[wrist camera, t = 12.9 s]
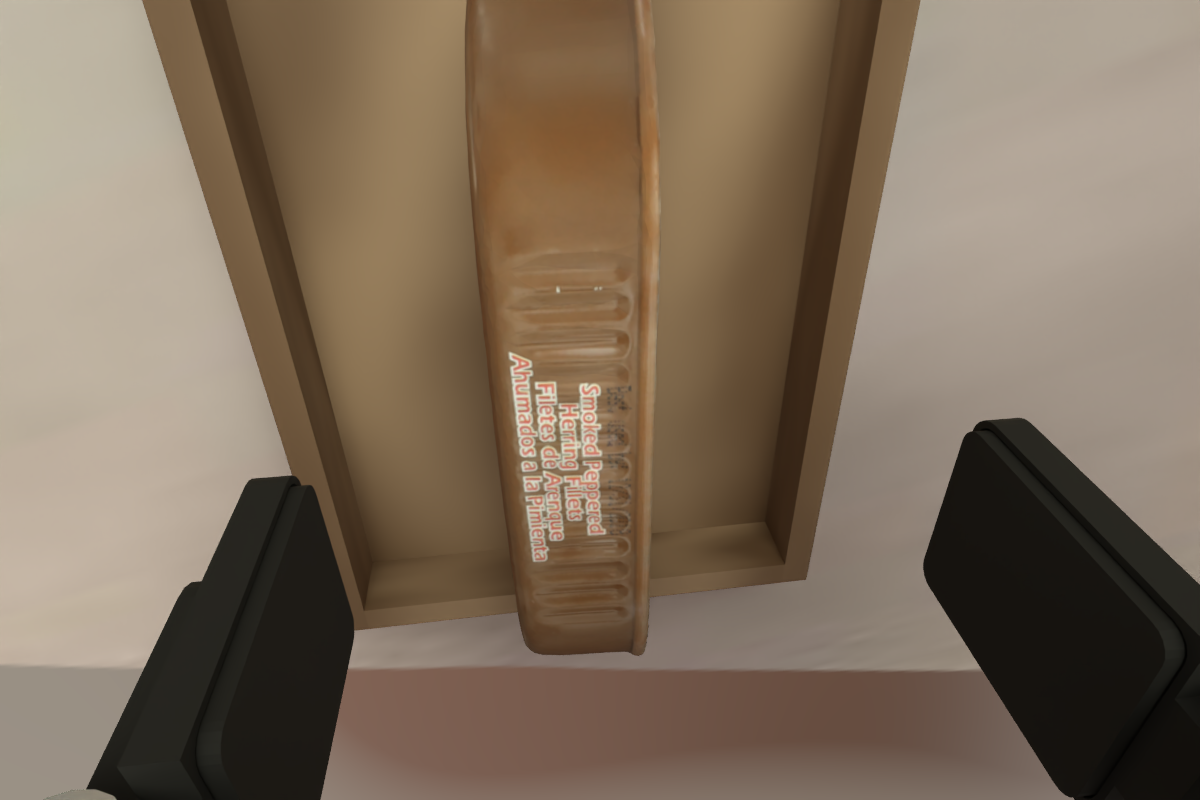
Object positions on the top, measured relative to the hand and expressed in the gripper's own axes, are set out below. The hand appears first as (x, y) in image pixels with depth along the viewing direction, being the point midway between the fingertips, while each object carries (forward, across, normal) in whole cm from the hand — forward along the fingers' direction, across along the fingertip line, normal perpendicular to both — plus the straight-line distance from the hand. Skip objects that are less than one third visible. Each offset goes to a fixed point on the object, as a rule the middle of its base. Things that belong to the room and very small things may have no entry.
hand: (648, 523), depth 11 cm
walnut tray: (+11, +1, 0) cm, 11 cm away
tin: (+10, +1, 0) cm, 10 cm away
